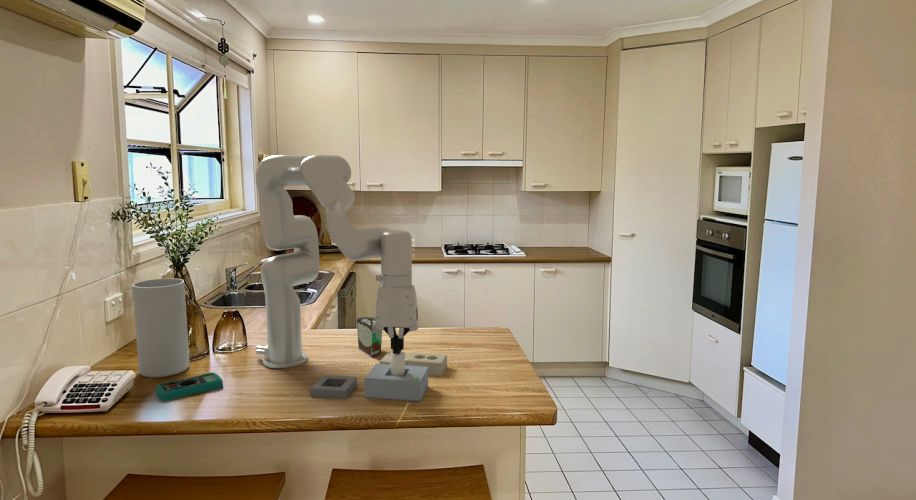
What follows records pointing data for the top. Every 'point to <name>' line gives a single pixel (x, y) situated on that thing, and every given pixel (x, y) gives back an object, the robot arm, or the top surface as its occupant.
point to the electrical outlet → (423, 362)
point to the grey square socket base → (333, 387)
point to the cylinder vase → (161, 327)
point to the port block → (396, 383)
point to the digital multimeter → (188, 386)
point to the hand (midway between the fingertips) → (397, 351)
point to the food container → (369, 336)
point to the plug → (398, 364)
